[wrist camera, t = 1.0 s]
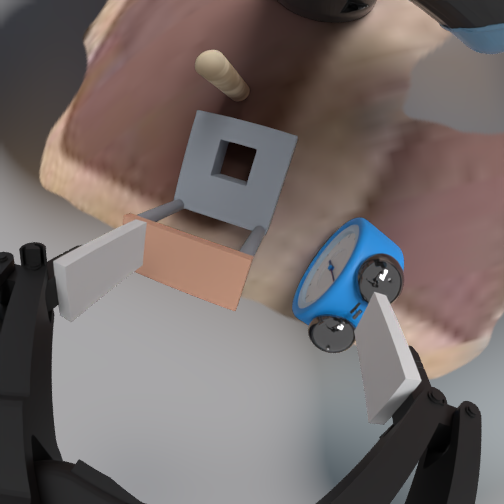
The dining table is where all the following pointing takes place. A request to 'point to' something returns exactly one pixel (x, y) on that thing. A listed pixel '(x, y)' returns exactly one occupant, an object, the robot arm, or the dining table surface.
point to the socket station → (217, 209)
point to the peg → (221, 74)
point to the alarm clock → (347, 283)
